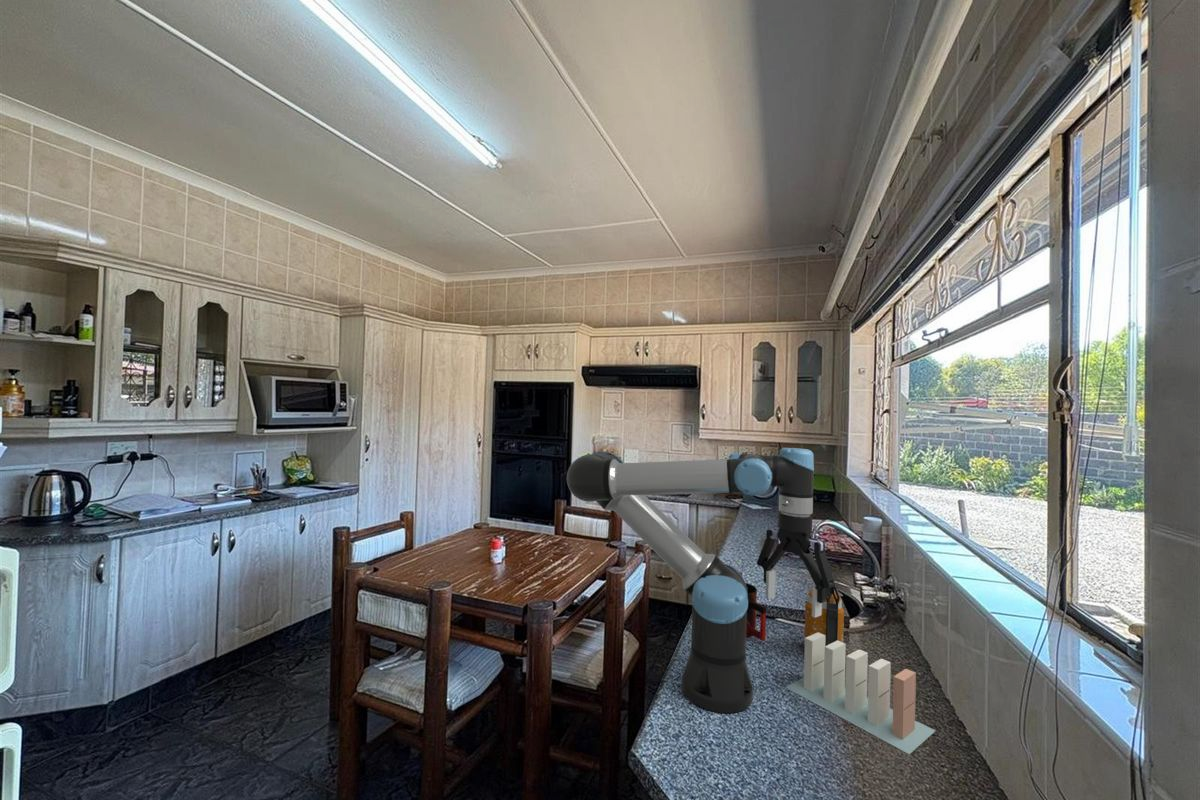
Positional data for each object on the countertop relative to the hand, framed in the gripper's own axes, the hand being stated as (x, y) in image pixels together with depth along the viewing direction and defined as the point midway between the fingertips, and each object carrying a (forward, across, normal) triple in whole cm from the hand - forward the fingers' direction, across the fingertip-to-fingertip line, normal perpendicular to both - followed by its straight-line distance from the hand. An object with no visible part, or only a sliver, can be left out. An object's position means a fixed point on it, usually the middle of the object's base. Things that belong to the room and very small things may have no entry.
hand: (792, 606), depth 113 cm
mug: (+16, -20, +10) cm, 28 cm away
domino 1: (+16, +6, 0) cm, 17 cm away
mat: (+16, +15, 0) cm, 22 cm away
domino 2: (+16, +10, 0) cm, 19 cm away
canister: (+16, 0, +15) cm, 22 cm away
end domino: (+16, +24, 0) cm, 29 cm away
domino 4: (+16, +20, 0) cm, 25 cm away
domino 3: (+16, +15, 0) cm, 22 cm away
